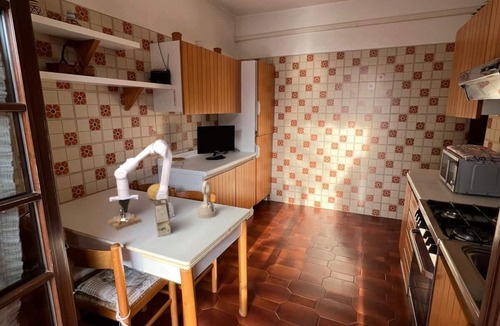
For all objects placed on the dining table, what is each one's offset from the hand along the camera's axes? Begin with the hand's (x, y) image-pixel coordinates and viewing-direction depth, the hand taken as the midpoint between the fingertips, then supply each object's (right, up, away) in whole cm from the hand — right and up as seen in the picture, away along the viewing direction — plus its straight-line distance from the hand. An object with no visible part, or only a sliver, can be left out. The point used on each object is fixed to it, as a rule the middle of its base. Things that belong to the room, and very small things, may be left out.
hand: (125, 212), depth 149 cm
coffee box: (+26, -8, -14) cm, 30 cm away
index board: (0, -5, -3) cm, 6 cm away
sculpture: (+6, +3, +34) cm, 35 cm away
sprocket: (0, -3, -3) cm, 5 cm away
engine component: (+44, -3, +6) cm, 45 cm away
